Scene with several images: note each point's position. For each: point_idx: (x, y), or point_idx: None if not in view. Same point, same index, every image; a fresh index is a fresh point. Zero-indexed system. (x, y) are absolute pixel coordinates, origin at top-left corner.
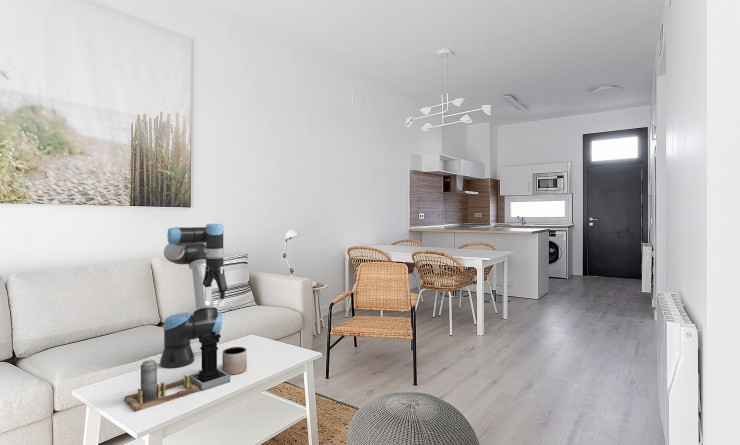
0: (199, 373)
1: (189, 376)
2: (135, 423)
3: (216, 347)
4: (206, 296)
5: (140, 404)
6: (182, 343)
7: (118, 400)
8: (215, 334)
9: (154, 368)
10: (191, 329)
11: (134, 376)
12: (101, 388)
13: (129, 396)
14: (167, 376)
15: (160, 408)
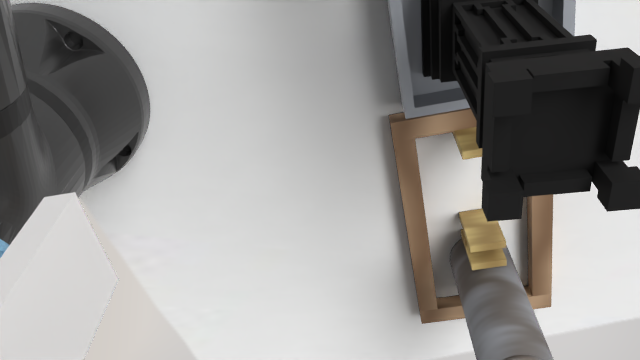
0: (408, 64)
1: (415, 116)
2: (636, 303)
3: (586, 51)
4: (83, 339)
5: (537, 293)
6: (73, 144)
7: (404, 324)
8: (525, 69)
9: (547, 346)
10: (18, 135)
11: (179, 269)
12: (251, 354)
13: (432, 312)
14: (255, 167)
15: (589, 235)
